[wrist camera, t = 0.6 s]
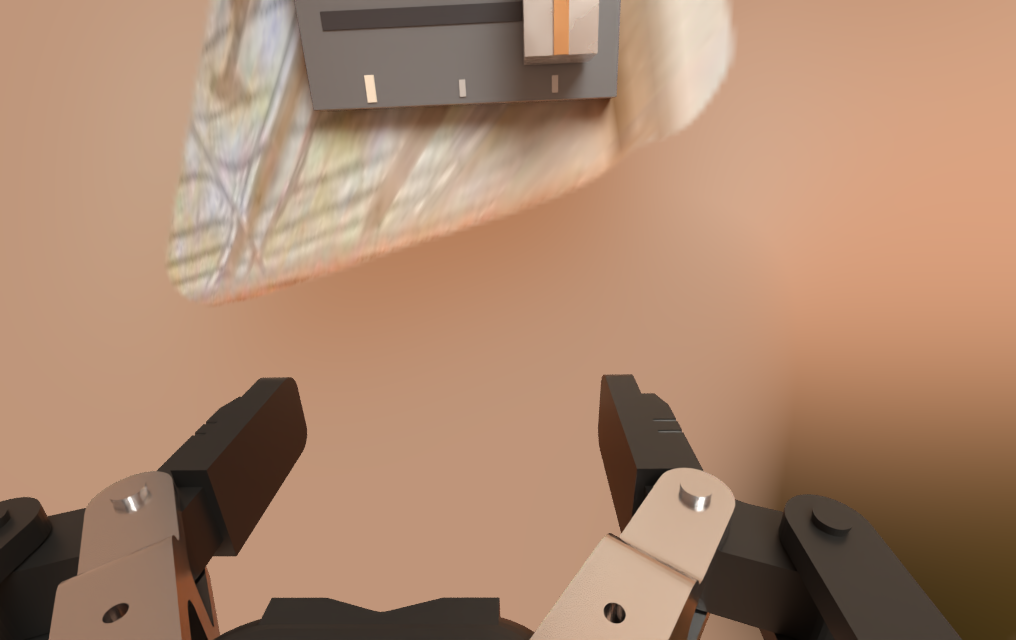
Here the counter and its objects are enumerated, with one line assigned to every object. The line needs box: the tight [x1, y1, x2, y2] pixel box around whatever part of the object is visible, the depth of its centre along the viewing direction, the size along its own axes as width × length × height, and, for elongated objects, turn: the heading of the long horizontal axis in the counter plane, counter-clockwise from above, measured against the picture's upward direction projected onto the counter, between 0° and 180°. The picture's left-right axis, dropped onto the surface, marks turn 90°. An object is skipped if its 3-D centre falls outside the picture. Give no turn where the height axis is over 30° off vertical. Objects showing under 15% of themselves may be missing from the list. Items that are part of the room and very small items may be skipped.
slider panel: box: [294, 0, 621, 111], centre depth 30 cm, size 10×20×2 cm, turn 92°
